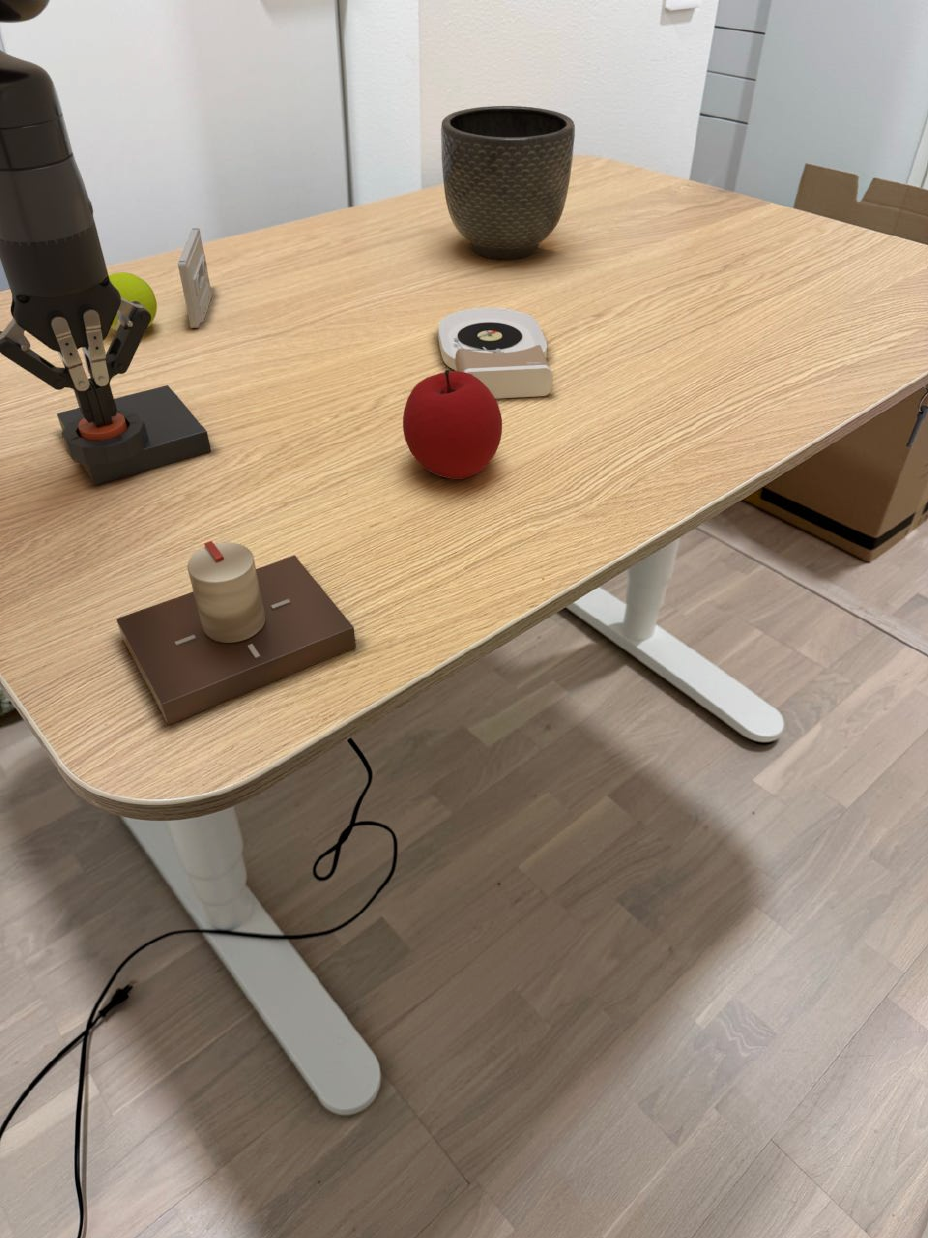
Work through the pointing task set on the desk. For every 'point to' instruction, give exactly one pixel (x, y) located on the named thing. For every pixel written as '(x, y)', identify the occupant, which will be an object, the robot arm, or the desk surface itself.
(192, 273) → the cassette
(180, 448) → the button box
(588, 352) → the desk surface
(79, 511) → the desk surface
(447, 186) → the planter
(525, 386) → the record player
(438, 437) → the apple
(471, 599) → the desk surface
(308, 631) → the dial panel
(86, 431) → the button
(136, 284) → the tennis ball
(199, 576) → the dial
